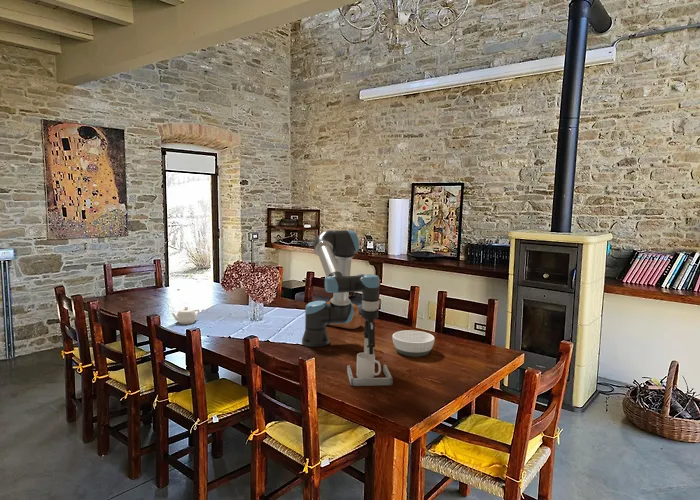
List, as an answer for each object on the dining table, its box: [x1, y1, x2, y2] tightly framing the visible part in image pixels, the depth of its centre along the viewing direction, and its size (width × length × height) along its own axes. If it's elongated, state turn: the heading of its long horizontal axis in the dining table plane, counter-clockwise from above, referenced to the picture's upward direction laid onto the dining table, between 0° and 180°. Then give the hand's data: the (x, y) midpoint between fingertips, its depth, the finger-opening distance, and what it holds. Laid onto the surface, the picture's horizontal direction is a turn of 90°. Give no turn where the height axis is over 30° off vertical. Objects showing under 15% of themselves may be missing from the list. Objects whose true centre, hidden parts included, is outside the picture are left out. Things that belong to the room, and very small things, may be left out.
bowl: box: [392, 329, 435, 358], centre depth 247 cm, size 22×22×8 cm
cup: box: [356, 351, 382, 378], centre depth 209 cm, size 8×12×10 cm
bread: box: [326, 300, 362, 330], centre depth 295 cm, size 14×26×15 cm, turn 58°
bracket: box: [346, 364, 394, 387], centre depth 209 cm, size 18×17×3 cm
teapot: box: [171, 306, 200, 325], centre depth 294 cm, size 20×12×10 cm, turn 142°
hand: (368, 356), depth 210 cm, fingers open, 10 cm apart
